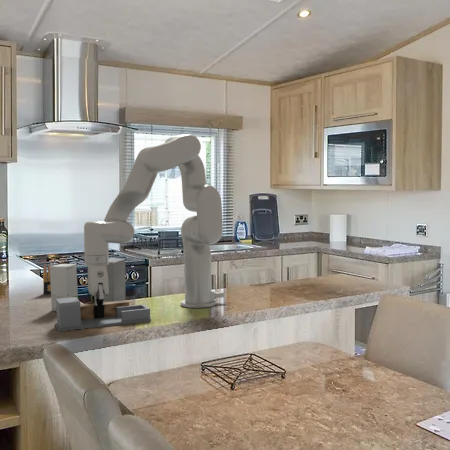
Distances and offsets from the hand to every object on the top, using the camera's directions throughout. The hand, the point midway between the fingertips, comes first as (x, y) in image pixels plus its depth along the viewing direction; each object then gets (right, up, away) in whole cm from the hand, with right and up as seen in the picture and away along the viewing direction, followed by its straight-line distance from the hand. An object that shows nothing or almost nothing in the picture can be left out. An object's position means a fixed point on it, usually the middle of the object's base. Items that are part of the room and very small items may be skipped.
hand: (97, 316), depth 180 cm
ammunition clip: (-27, +2, +45) cm, 53 cm away
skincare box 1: (-15, 0, +16) cm, 22 cm away
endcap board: (+3, -1, -5) cm, 6 cm away
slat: (0, -1, 0) cm, 1 cm away
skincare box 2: (0, +1, +27) cm, 27 cm away
